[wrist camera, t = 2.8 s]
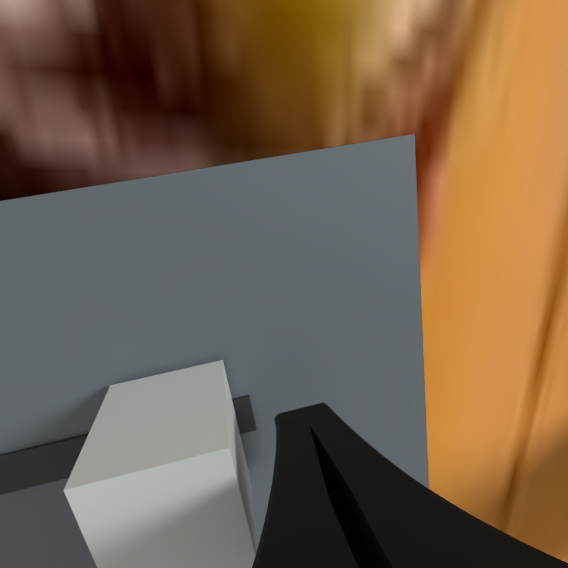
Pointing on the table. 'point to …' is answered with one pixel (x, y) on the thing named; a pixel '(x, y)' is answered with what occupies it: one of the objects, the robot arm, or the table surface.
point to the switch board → (208, 315)
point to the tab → (166, 476)
